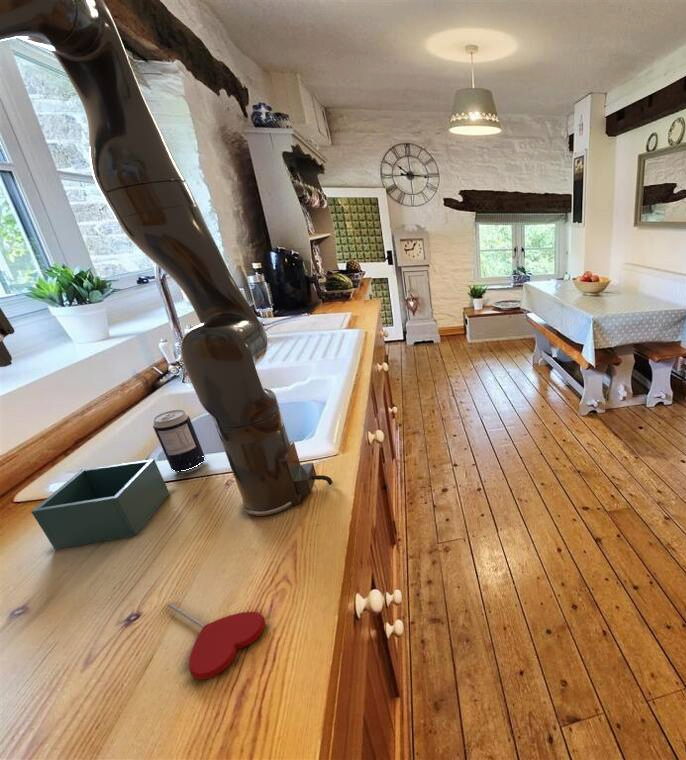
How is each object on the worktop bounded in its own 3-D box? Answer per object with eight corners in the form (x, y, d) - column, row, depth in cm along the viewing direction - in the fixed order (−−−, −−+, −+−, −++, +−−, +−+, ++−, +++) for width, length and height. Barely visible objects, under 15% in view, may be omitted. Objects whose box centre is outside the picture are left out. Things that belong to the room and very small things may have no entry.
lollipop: (133, 634, 51) (207, 688, 44) (130, 629, 50) (204, 682, 44) (202, 582, 57) (274, 623, 51) (199, 578, 57) (272, 618, 51)
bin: (169, 493, 76) (154, 458, 73) (136, 535, 66) (116, 498, 63) (100, 504, 74) (81, 469, 71) (54, 549, 64) (30, 511, 61)
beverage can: (213, 459, 86) (194, 409, 81) (191, 476, 81) (169, 423, 76) (188, 458, 87) (168, 408, 82) (165, 475, 82) (142, 422, 77)
